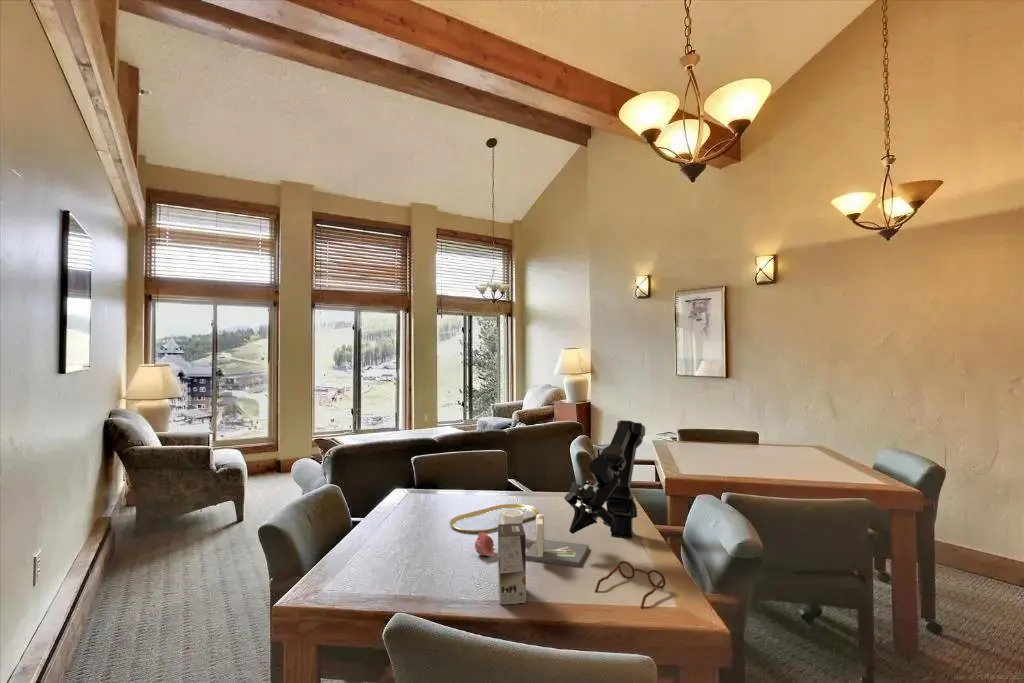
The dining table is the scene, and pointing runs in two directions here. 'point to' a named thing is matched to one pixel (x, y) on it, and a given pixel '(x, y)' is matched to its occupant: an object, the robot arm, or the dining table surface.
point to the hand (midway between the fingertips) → (570, 532)
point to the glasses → (633, 576)
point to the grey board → (559, 553)
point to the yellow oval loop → (488, 511)
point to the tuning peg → (542, 537)
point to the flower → (484, 545)
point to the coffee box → (511, 563)
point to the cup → (511, 517)
